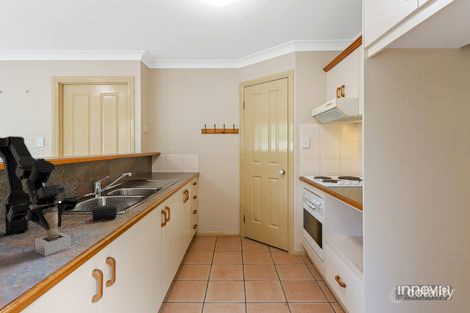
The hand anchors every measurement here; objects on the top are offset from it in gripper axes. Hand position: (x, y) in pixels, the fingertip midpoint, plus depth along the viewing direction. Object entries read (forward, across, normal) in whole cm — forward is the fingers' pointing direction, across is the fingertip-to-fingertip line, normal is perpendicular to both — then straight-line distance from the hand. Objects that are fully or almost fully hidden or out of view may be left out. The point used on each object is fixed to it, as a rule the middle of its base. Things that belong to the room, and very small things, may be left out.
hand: (54, 228), depth 80 cm
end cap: (-9, +28, +20) cm, 36 cm away
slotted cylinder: (+4, 0, +6) cm, 7 cm away
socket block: (+4, 0, +6) cm, 8 cm away
